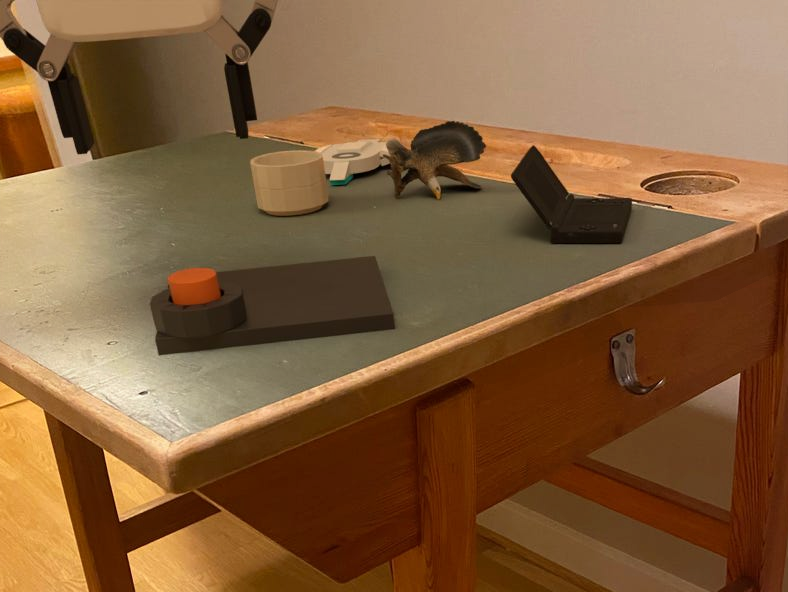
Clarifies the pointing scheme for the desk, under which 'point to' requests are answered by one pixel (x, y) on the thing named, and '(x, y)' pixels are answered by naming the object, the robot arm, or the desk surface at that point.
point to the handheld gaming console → (569, 205)
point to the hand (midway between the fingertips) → (165, 142)
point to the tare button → (194, 286)
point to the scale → (277, 306)
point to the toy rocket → (352, 158)
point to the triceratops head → (435, 156)
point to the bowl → (289, 182)
